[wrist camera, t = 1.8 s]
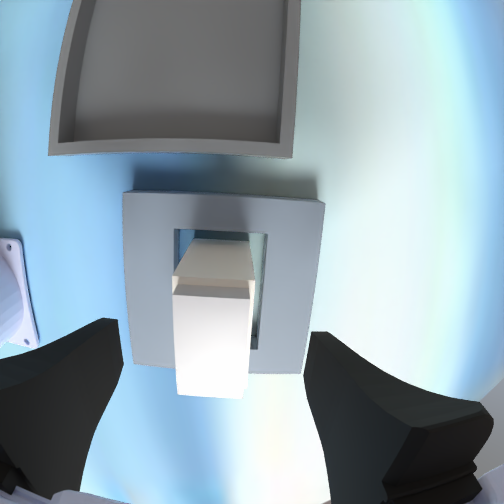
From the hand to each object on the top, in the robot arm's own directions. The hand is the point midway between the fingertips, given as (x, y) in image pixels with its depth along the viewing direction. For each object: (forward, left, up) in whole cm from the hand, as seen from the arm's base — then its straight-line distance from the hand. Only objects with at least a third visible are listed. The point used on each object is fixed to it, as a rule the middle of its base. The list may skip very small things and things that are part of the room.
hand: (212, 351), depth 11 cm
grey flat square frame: (0, 0, -7) cm, 7 cm away
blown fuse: (0, 0, -7) cm, 7 cm away
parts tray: (-3, +14, -7) cm, 16 cm away
